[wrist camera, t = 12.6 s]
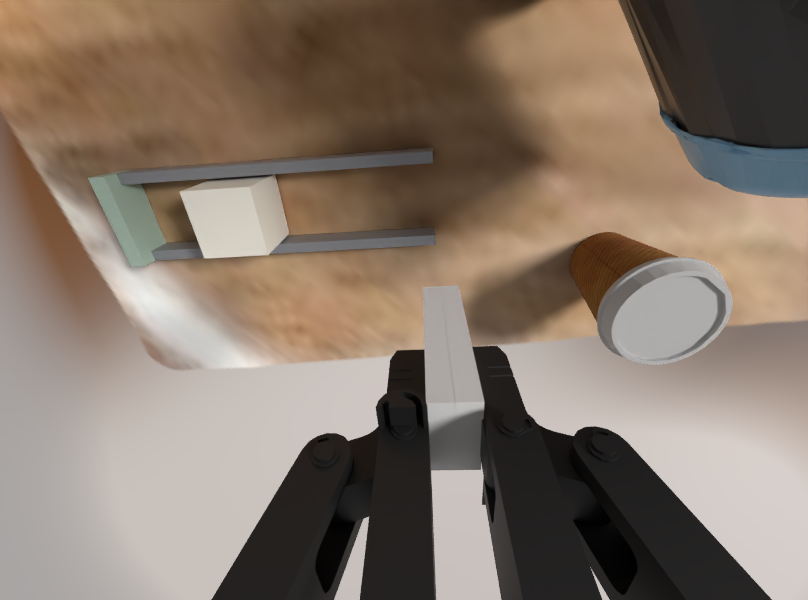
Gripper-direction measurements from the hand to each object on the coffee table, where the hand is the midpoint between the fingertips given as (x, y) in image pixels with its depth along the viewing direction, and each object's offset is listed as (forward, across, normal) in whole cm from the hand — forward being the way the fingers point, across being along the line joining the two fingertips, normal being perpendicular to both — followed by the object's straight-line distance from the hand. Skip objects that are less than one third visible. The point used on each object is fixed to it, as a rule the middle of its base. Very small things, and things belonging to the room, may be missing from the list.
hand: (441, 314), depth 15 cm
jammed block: (+22, -18, 0) cm, 29 cm away
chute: (+22, -14, 0) cm, 26 cm away
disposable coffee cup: (+23, +18, -8) cm, 30 cm away
